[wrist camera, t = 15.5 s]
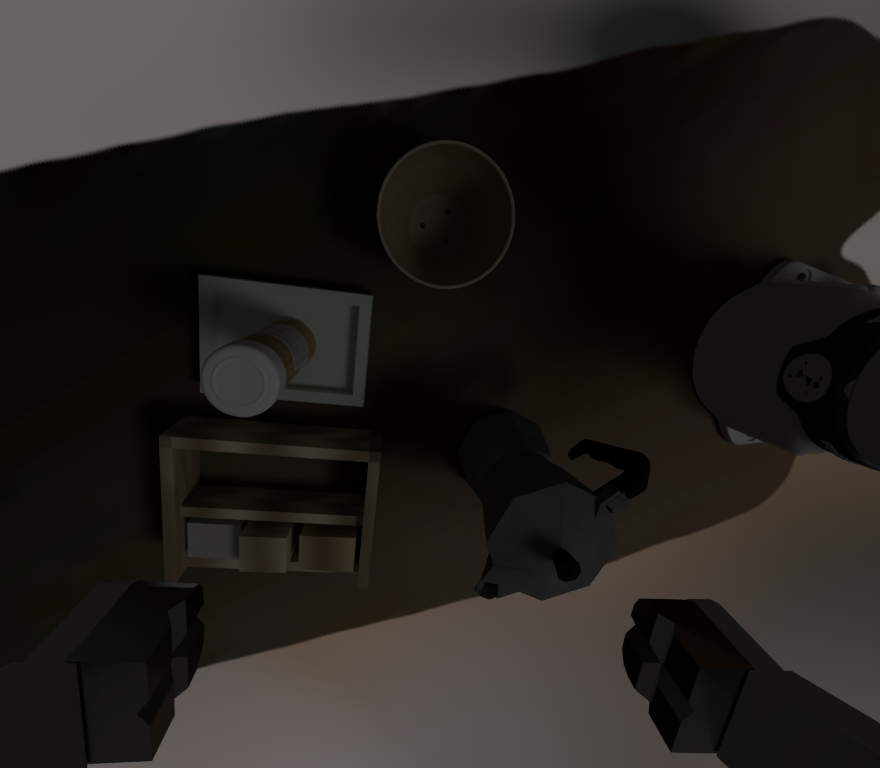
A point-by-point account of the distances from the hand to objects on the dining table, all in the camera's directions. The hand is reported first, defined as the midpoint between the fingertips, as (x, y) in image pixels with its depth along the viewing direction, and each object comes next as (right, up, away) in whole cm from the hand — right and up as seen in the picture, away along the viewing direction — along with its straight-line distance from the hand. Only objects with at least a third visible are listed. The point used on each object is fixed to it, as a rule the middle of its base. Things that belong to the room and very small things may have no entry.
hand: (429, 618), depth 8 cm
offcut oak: (-11, -10, +36) cm, 39 cm away
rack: (-15, -6, +35) cm, 38 cm away
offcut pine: (-16, -9, +36) cm, 40 cm away
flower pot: (0, +18, +30) cm, 35 cm away
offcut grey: (-21, -9, +35) cm, 42 cm away
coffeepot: (+7, -2, +36) cm, 37 cm away
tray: (-13, +8, +31) cm, 35 cm away
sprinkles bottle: (-13, +8, +30) cm, 34 cm away
